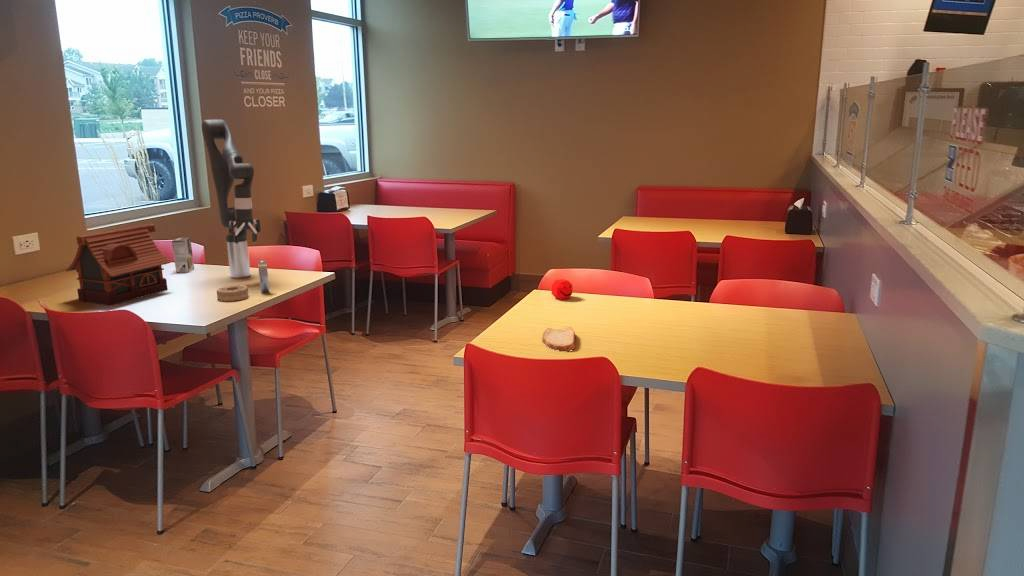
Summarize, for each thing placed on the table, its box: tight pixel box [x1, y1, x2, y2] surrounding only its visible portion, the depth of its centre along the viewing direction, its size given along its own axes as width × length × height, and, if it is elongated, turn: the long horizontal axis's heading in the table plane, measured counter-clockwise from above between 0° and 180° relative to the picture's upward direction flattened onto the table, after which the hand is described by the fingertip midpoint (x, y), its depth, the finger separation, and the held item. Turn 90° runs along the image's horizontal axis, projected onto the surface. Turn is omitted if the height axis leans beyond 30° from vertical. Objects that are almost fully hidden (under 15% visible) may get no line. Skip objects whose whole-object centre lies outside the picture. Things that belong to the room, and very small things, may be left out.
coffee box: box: [171, 237, 195, 273], centre depth 363 cm, size 9×6×16 cm
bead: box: [216, 284, 249, 302], centre depth 311 cm, size 12×12×4 cm
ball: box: [551, 278, 573, 301], centre depth 304 cm, size 8×8×8 cm
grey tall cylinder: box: [257, 260, 270, 294], centre depth 318 cm, size 4×4×14 cm
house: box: [65, 223, 171, 306], centre depth 315 cm, size 35×28×29 cm
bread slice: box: [541, 326, 577, 352], centre depth 249 cm, size 18×18×4 cm
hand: (245, 242), depth 336 cm, fingers open, 8 cm apart
